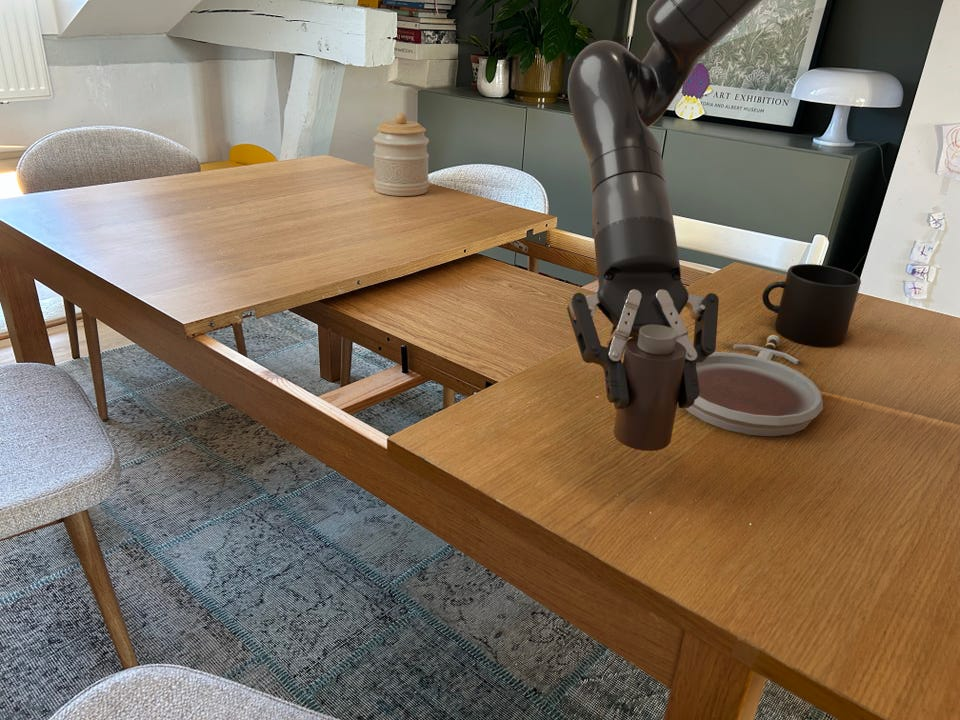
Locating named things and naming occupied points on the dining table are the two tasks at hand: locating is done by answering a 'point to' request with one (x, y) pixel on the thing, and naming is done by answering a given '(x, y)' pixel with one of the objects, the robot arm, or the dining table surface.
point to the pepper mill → (651, 388)
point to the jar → (401, 158)
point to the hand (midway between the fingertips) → (654, 405)
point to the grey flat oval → (755, 392)
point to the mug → (814, 304)
